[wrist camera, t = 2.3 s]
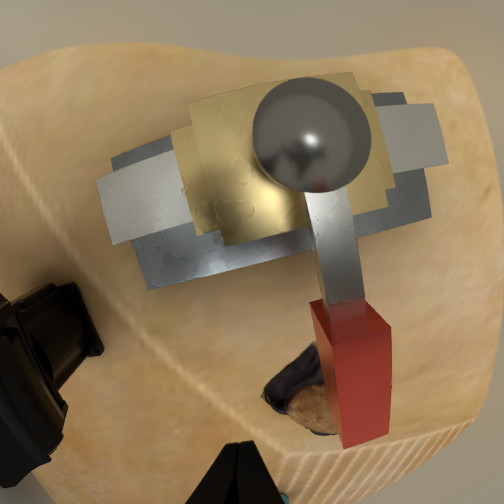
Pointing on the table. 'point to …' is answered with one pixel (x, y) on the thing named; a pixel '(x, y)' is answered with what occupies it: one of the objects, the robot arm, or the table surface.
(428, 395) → the table surface
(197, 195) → the valve stand
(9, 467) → the robot arm
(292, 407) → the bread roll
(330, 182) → the valve lever
